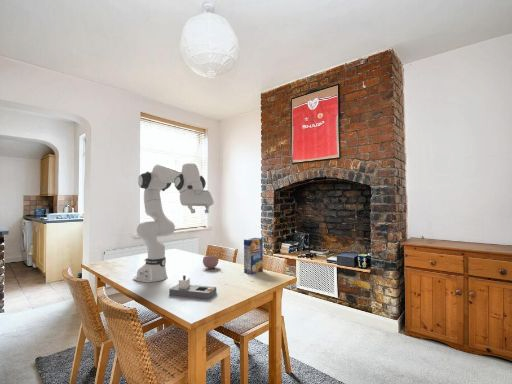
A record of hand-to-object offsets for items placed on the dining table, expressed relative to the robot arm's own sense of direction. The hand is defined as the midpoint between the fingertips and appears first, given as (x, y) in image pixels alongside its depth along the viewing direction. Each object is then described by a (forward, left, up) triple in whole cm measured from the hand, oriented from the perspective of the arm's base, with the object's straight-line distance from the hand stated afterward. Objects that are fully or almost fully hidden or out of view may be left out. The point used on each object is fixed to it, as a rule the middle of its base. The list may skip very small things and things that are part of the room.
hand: (200, 212), depth 148 cm
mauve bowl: (-23, +61, -47) cm, 80 cm away
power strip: (-7, +5, -46) cm, 47 cm away
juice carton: (+11, +60, -47) cm, 77 cm away
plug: (-13, +5, -46) cm, 48 cm away
